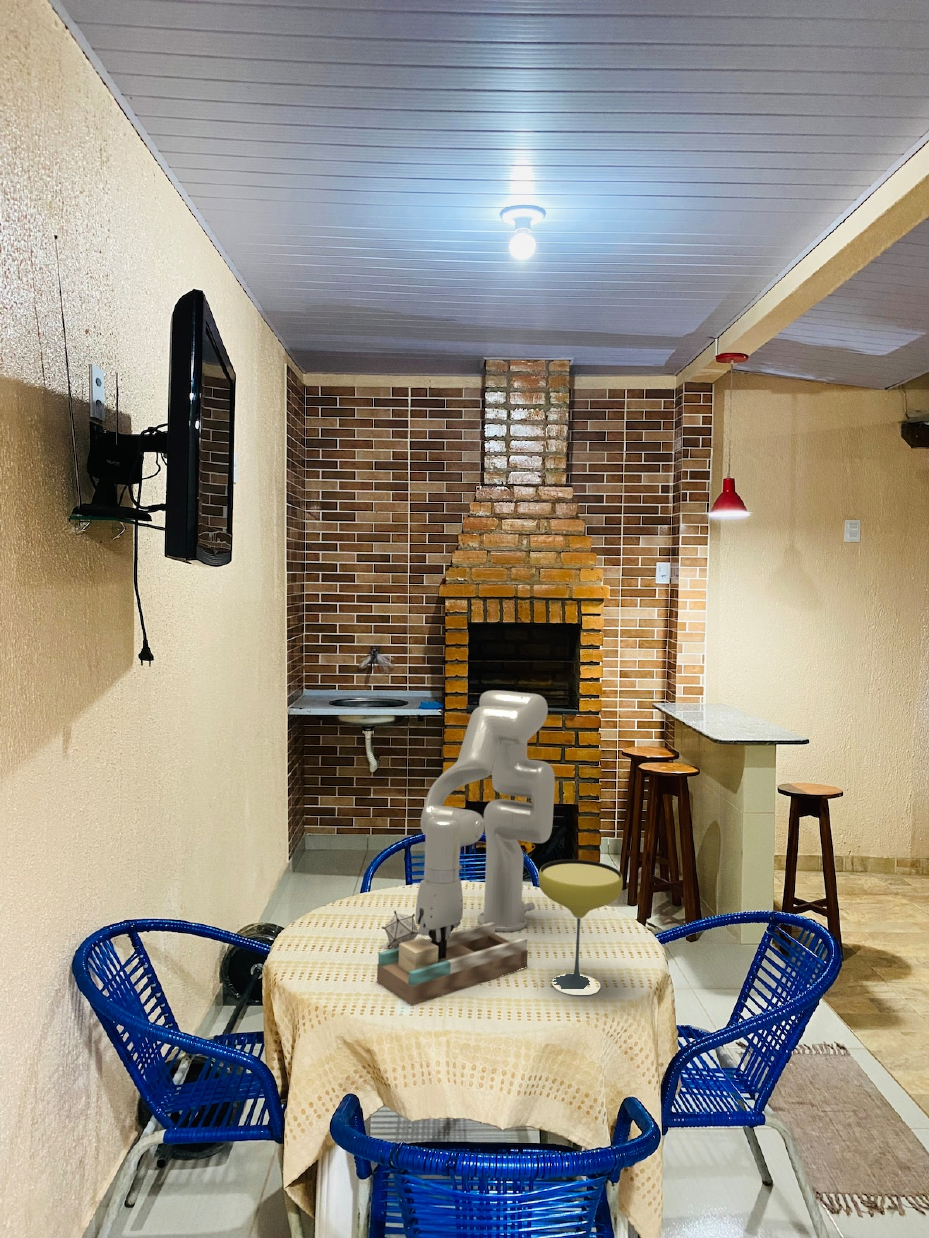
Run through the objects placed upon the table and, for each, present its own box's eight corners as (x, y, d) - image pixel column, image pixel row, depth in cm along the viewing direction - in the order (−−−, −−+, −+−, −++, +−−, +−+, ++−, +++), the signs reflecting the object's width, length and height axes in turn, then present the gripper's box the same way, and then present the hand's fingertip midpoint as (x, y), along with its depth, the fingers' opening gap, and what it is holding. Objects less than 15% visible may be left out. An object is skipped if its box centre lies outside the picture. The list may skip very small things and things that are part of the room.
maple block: (420, 959, 201) (421, 937, 200) (437, 969, 196) (438, 946, 196) (398, 966, 197) (399, 943, 197) (414, 976, 192) (415, 953, 192)
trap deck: (490, 948, 218) (491, 921, 217) (527, 967, 208) (528, 939, 207) (376, 982, 198) (377, 952, 197) (411, 1005, 188) (412, 974, 187)
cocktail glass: (532, 965, 209) (537, 857, 208) (612, 969, 209) (617, 860, 207) (536, 1002, 191) (541, 884, 190) (623, 1006, 191) (628, 888, 189)
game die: (407, 960, 218) (434, 926, 219) (394, 960, 211) (422, 925, 211) (382, 934, 222) (407, 901, 223) (368, 934, 214) (395, 899, 215)
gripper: (457, 863, 206) (454, 943, 207) (403, 875, 197) (400, 958, 198) (479, 872, 201) (476, 954, 201) (424, 885, 191) (421, 971, 192)
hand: (438, 956), depth 200 cm, fingers closed
